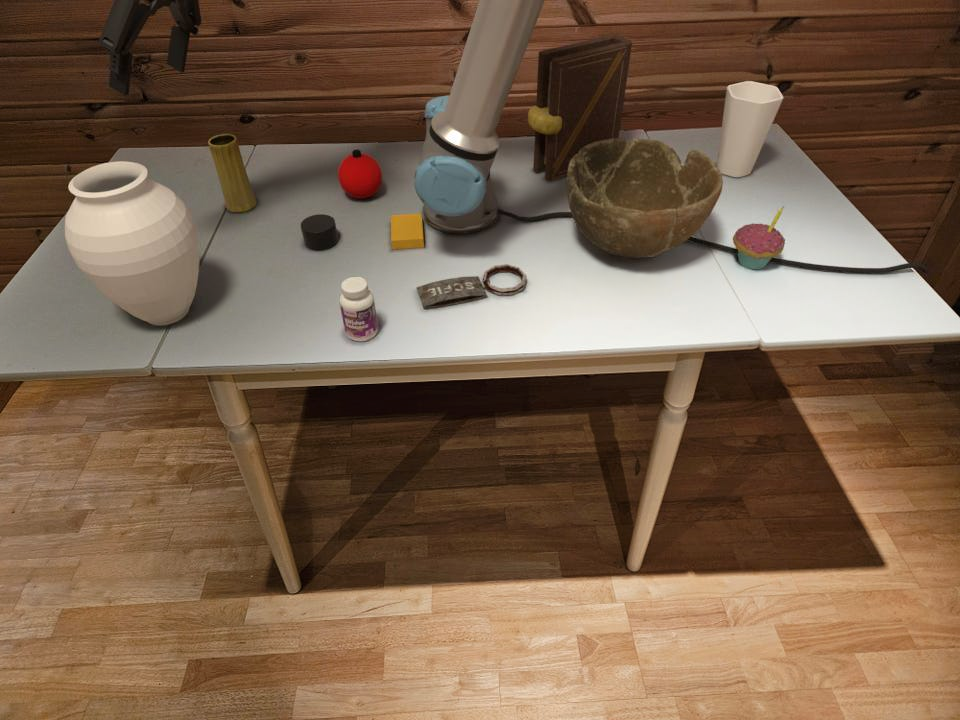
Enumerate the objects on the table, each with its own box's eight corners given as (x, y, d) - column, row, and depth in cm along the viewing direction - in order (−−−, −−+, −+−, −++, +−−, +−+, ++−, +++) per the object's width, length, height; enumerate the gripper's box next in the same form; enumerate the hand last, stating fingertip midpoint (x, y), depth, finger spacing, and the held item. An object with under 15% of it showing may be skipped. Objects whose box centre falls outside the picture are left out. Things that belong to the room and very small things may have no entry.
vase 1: (98, 353, 103) (19, 214, 86) (124, 285, 116) (60, 153, 99) (214, 340, 105) (160, 202, 88) (227, 275, 118) (182, 143, 101)
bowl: (601, 191, 138) (610, 122, 127) (725, 231, 126) (746, 158, 116) (531, 253, 122) (535, 180, 111) (666, 305, 110) (685, 229, 100)
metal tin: (339, 231, 128) (335, 213, 125) (337, 249, 123) (333, 231, 121) (306, 233, 128) (302, 215, 125) (303, 251, 123) (298, 233, 120)
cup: (700, 172, 143) (719, 94, 131) (717, 154, 149) (736, 77, 137) (751, 186, 139) (775, 106, 127) (766, 167, 145) (790, 89, 133)
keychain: (415, 286, 115) (414, 277, 114) (518, 267, 119) (518, 258, 117) (424, 313, 109) (423, 304, 108) (532, 293, 113) (533, 283, 112)
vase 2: (260, 198, 137) (243, 133, 128) (250, 213, 133) (231, 147, 123) (232, 197, 138) (213, 132, 128) (221, 212, 134) (200, 146, 124)
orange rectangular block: (422, 222, 130) (421, 213, 129) (424, 247, 124) (423, 238, 122) (392, 224, 130) (390, 215, 128) (392, 249, 123) (391, 240, 122)
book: (598, 146, 152) (612, 32, 135) (622, 161, 147) (639, 44, 130) (519, 171, 145) (523, 52, 127) (541, 187, 139) (547, 66, 122)
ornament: (339, 188, 140) (331, 143, 133) (380, 182, 142) (374, 137, 135) (344, 209, 134) (336, 164, 127) (388, 202, 136) (382, 157, 129)
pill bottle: (346, 344, 104) (336, 297, 97) (344, 323, 108) (335, 276, 101) (380, 340, 105) (372, 292, 98) (377, 319, 109) (370, 271, 102)
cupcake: (776, 253, 121) (798, 195, 112) (775, 280, 115) (798, 221, 107) (728, 245, 123) (745, 187, 114) (725, 271, 117) (743, 212, 109)
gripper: (195, -85, 98) (176, 47, 112) (72, -71, 79) (67, 87, 93) (239, -57, 99) (215, 71, 113) (128, -37, 80) (115, 115, 94)
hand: (148, 78), depth 103 cm, fingers open, 13 cm apart
